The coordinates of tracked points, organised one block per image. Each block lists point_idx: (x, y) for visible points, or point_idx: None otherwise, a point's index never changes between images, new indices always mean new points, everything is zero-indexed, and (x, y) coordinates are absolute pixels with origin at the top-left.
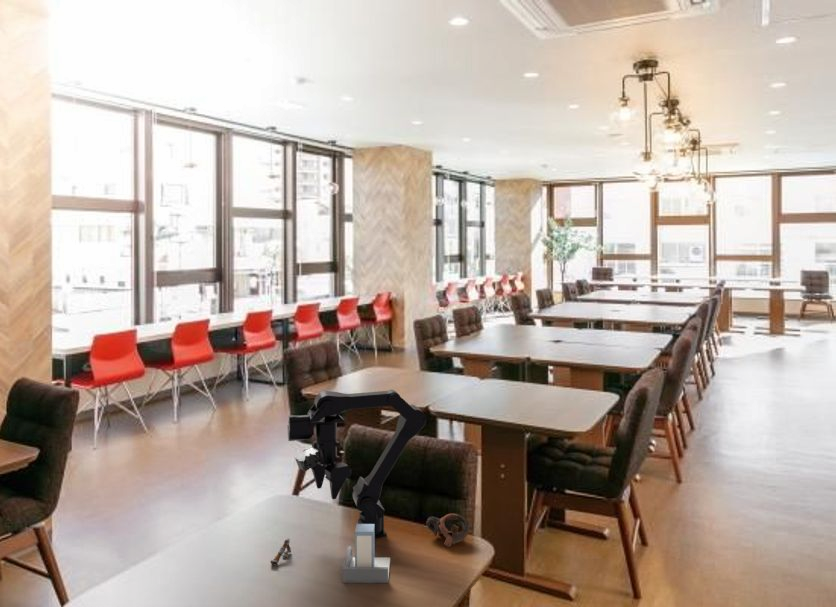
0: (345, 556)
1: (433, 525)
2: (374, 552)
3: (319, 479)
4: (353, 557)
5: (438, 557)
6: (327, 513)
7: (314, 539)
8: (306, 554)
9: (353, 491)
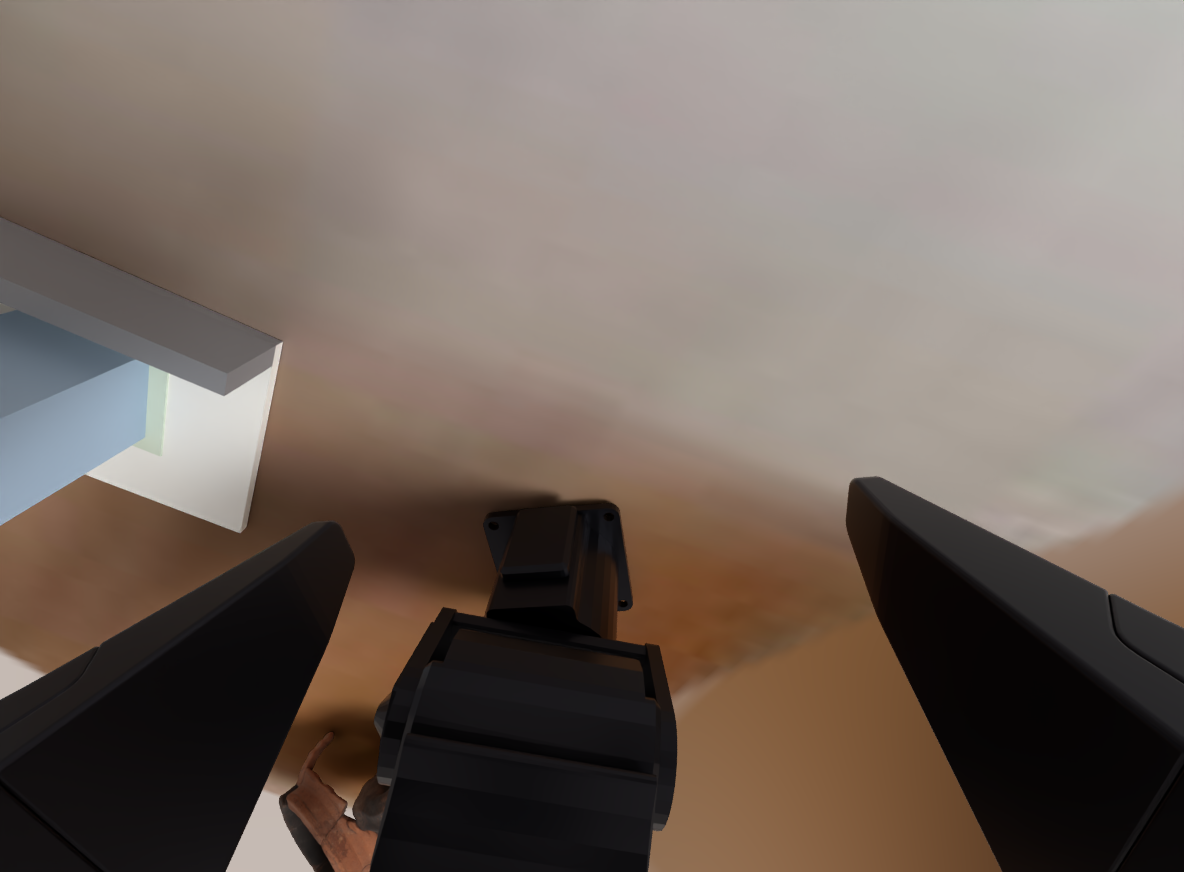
0: (58, 302)
1: None
2: (67, 480)
3: (932, 625)
4: (266, 373)
5: None
6: (1003, 449)
7: (643, 225)
8: (413, 78)
9: (651, 742)
